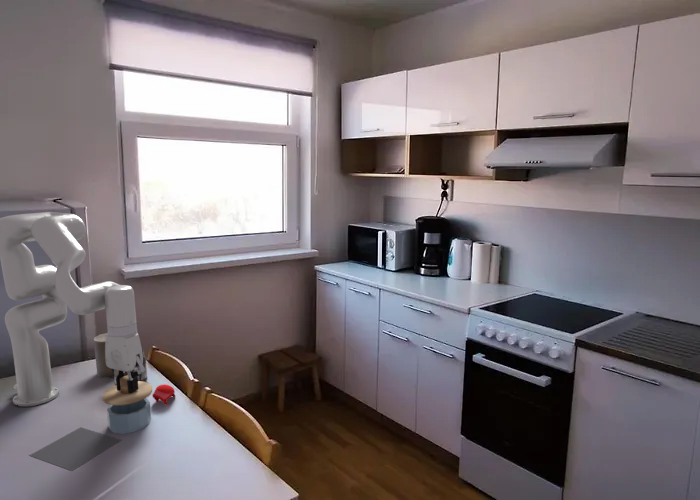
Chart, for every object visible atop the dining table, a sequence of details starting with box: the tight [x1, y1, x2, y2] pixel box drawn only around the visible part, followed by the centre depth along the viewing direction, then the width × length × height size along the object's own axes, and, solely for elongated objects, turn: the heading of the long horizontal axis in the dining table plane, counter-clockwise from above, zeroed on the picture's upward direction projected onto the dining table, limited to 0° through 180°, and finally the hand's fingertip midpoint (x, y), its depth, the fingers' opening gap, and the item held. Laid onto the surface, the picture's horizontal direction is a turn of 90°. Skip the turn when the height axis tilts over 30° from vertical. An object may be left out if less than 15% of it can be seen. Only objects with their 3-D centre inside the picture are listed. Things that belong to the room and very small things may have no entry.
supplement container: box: [113, 346, 148, 386], centre depth 169 cm, size 10×10×12 cm
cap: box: [151, 384, 177, 406], centre depth 158 cm, size 8×6×6 cm
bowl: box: [106, 397, 152, 434], centre depth 144 cm, size 11×11×6 cm
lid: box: [102, 376, 153, 406], centre depth 142 cm, size 13×13×5 cm
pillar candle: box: [93, 332, 114, 379], centre depth 178 cm, size 10×10×15 cm
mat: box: [29, 427, 122, 472], centre depth 132 cm, size 16×15×1 cm
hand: (127, 389), depth 142 cm, fingers closed on lid, 3 cm apart
